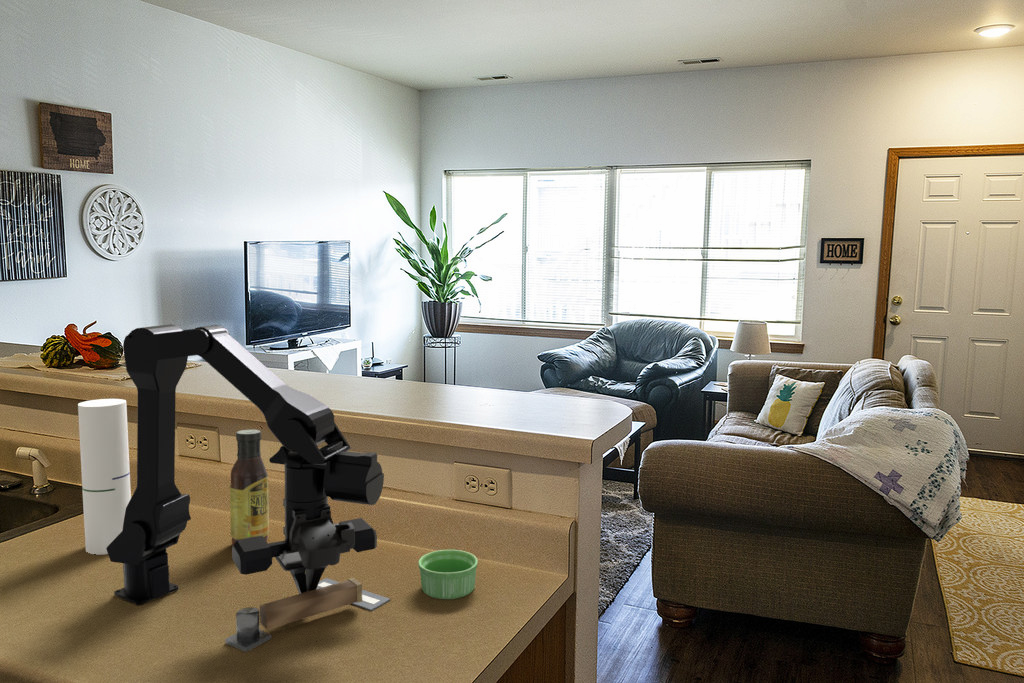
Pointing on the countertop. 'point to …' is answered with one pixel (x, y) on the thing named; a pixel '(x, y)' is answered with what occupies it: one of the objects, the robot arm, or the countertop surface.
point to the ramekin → (448, 573)
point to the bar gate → (310, 603)
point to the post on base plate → (247, 630)
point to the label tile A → (326, 583)
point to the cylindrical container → (104, 470)
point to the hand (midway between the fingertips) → (306, 602)
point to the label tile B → (371, 600)
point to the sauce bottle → (249, 489)
